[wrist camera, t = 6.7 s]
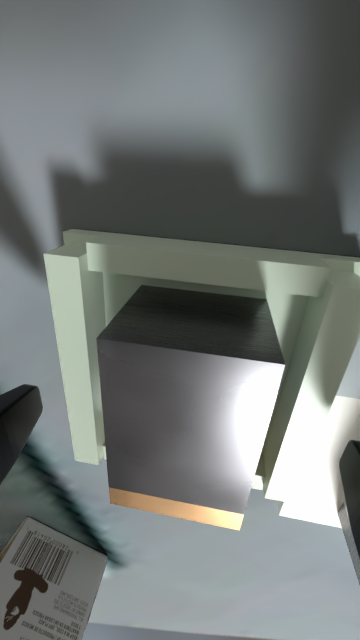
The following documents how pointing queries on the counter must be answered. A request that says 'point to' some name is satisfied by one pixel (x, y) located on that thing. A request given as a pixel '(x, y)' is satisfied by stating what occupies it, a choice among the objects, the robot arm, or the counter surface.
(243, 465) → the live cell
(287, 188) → the counter surface
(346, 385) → the long white tray
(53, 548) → the coffee box
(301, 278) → the pale green square tray
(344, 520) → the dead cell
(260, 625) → the counter surface
